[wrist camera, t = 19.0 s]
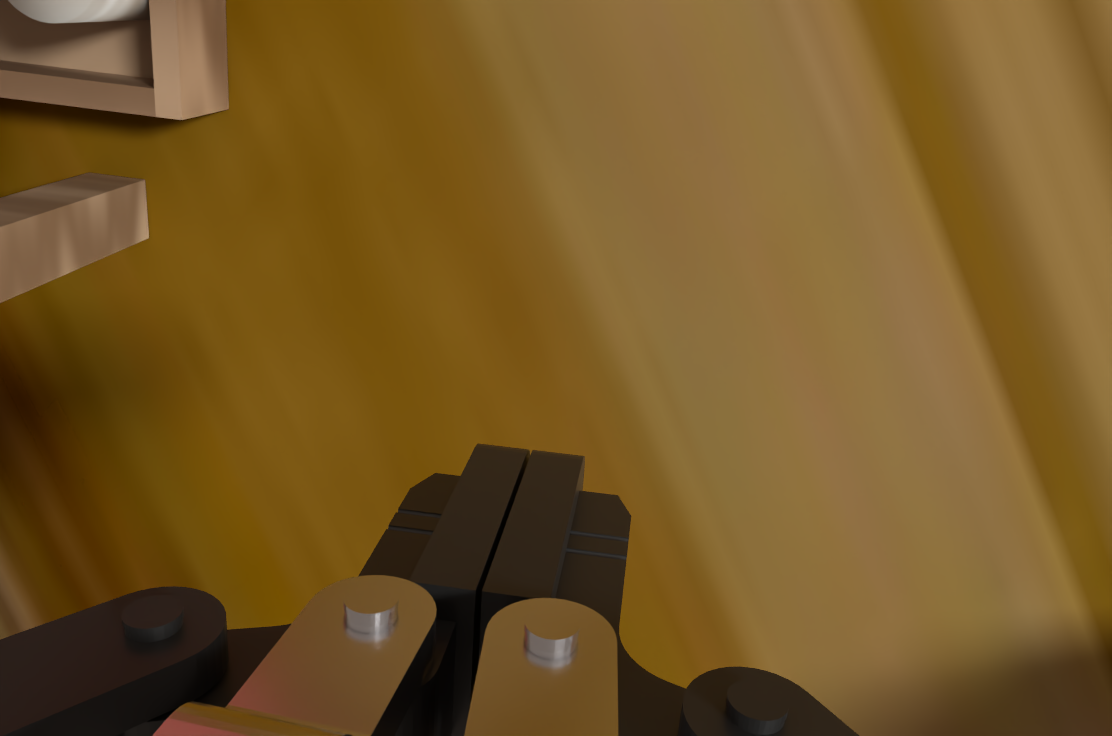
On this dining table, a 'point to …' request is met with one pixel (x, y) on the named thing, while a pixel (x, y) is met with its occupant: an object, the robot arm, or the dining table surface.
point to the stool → (67, 228)
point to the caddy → (117, 55)
